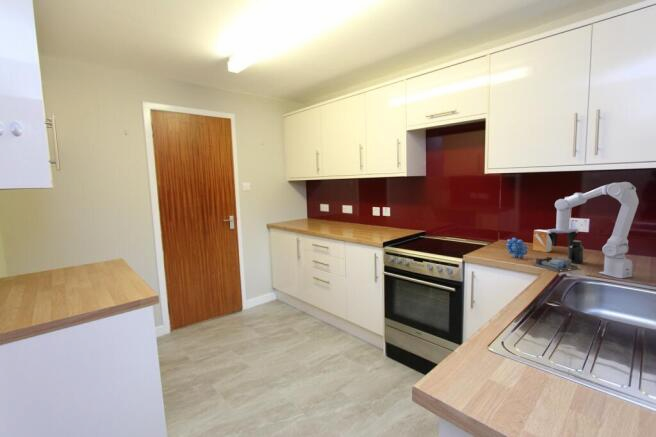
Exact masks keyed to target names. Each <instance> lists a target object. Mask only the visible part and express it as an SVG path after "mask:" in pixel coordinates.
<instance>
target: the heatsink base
mask: <svg viewBox="0 0 656 437" xmlns="http://www.w3.org/2000/svg"><path fill="white" fill-rule="evenodd" d="M555 259H558V260H562V261H565V262H564V267H559V266H558V265H554V264H550V263H546V262H550V260H553V258H552V257H550V256H546V257H541V258H539V257H538V258H537V257H536V258H535V262H532V266H534V267H539V268H543V269H546V270H549V271H552V270H554V271H553V272H556V271H559V272H561V271H560V270H566V271H569V270H568V269H572V270H577V269H579V266H578V265H576V264H572V263H571V259H568V257H562V256H558V257H555V258H554V260H555Z"/></svg>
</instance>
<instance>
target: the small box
mask: <svg viewBox="0 0 656 437" xmlns="http://www.w3.org/2000/svg"><path fill="white" fill-rule="evenodd" d="M552 247H553V245H552V241H551V239H550V237H549V235H548V233H547V229H534V230H533V240H532V251H537V252H541V253H549V252H552Z"/></svg>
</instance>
